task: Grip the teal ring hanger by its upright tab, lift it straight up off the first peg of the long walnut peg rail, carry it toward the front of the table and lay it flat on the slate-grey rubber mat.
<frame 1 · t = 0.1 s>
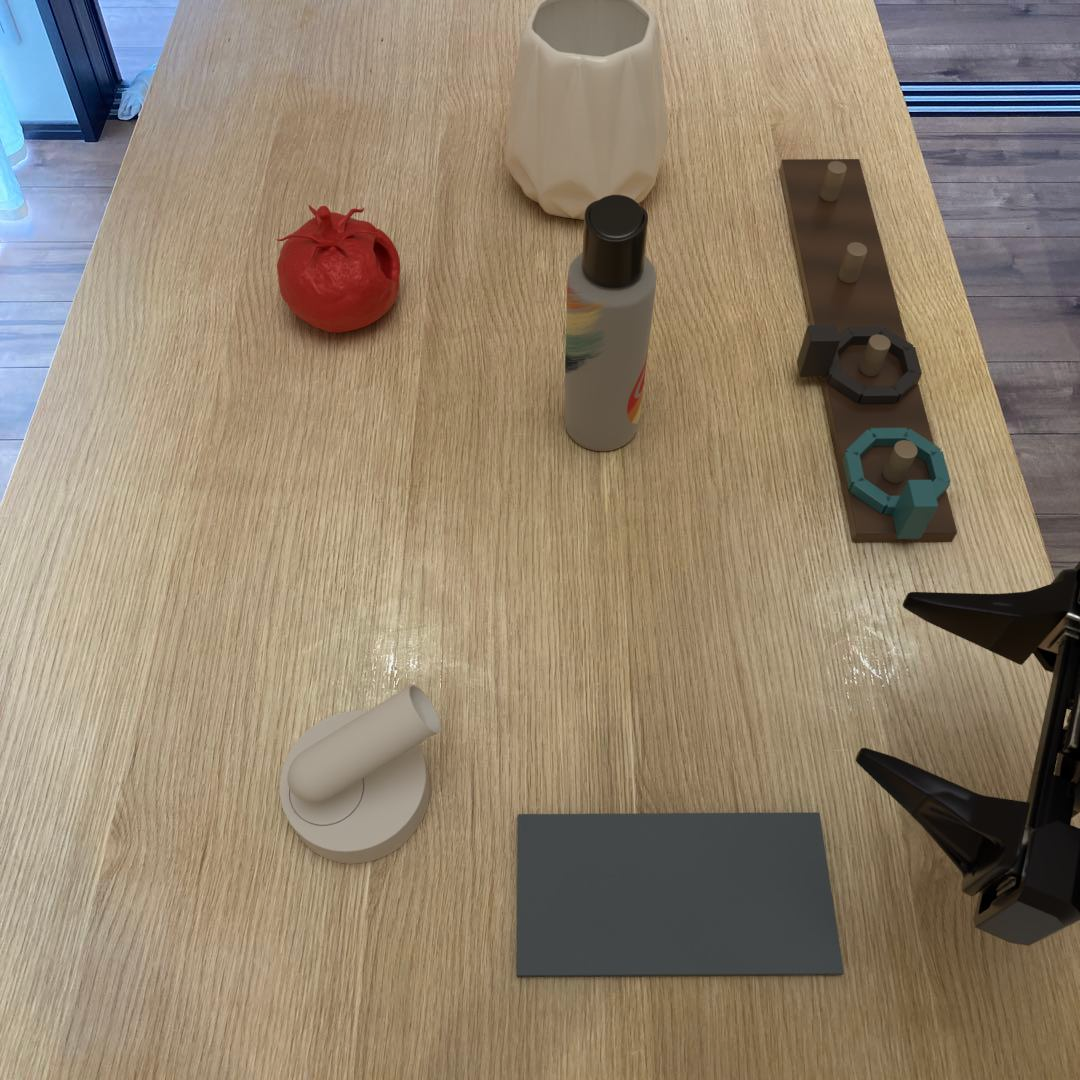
hand: (882, 673, 51), 15 cm above the table, tool horizontal, fingers open, 9 cm apart
peg rack: (854, 332, 83), on the table
ring teal: (893, 474, 74), point 1 cm above the table, touching peg rack
wall hook: (370, 788, 63), on the table
ring charcoal: (869, 369, 79), point 1 cm above the table, touching peg rack
mat: (673, 893, 60), on the table
pomegranate: (346, 305, 85), on the table
lotion bottle: (601, 425, 78), on the table
vase: (584, 184, 93), on the table
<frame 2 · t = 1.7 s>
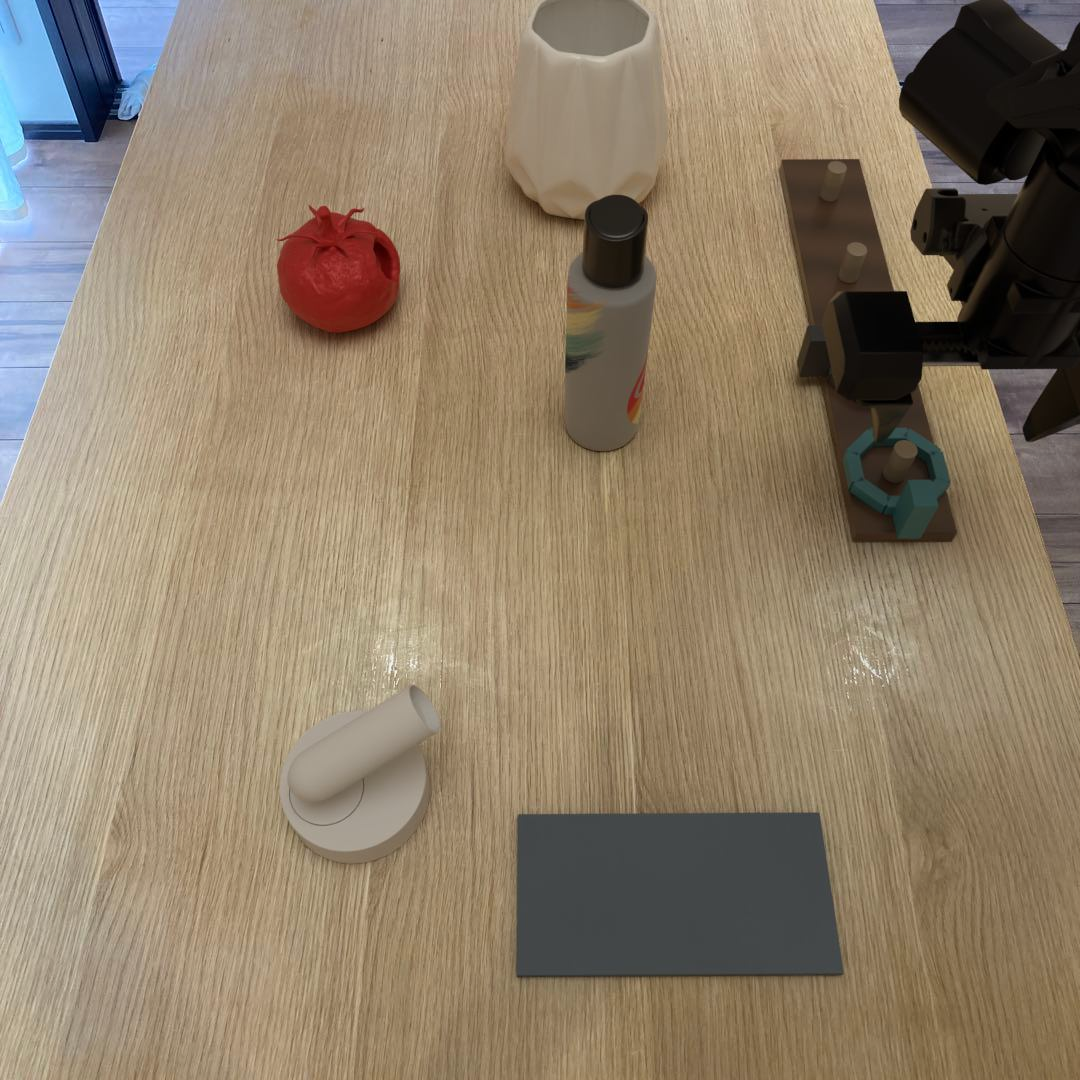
hand: (951, 436, 63), 11 cm above the table, tool pointing down, fingers open, 9 cm apart
nothing on the table moved.
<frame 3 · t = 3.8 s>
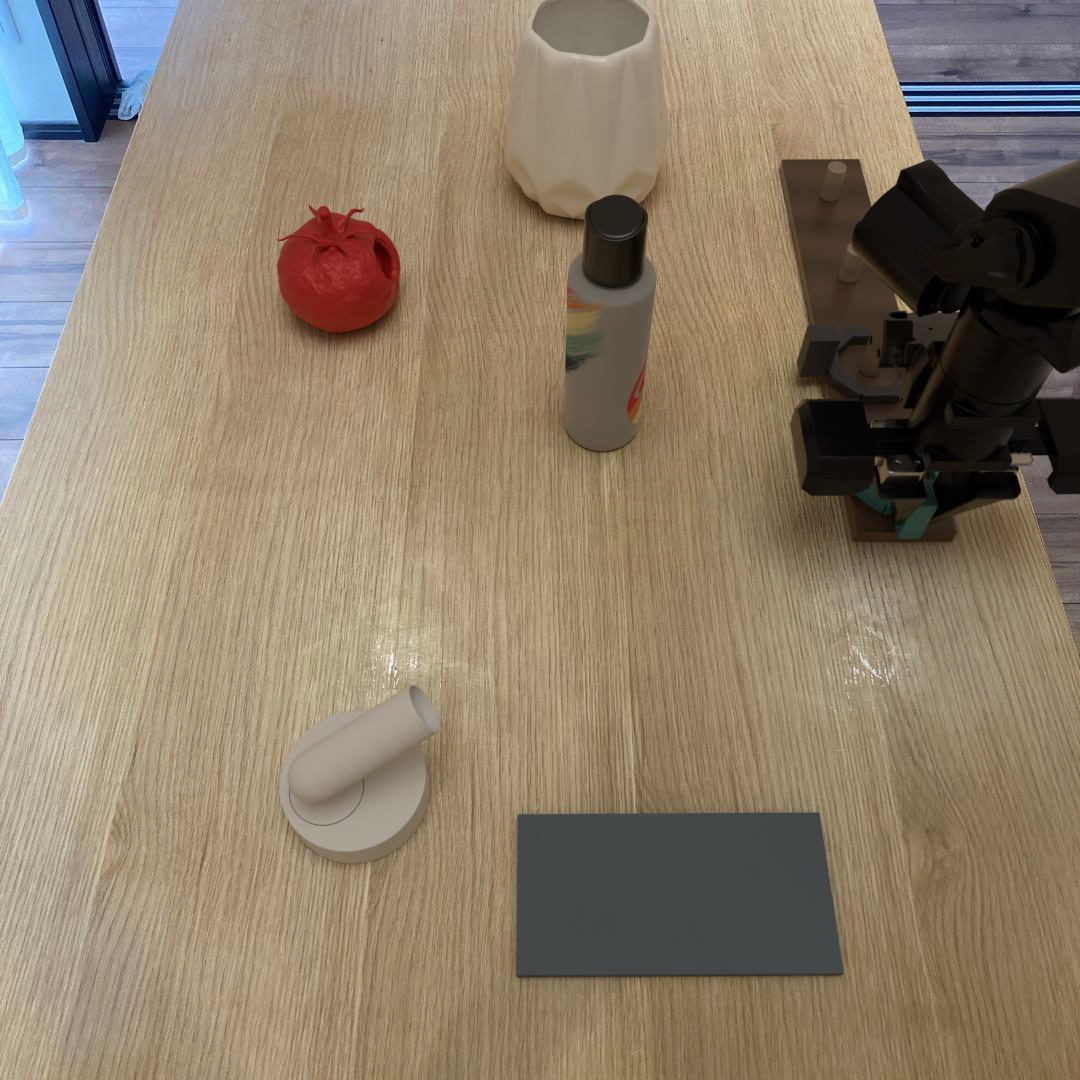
hand: (909, 519, 71), 2 cm above the table, tool pointing down, fingers closed on ring teal, 2 cm apart
ring teal: (893, 474, 74), point 1 cm above the table, touching gripper
everything else where it was.
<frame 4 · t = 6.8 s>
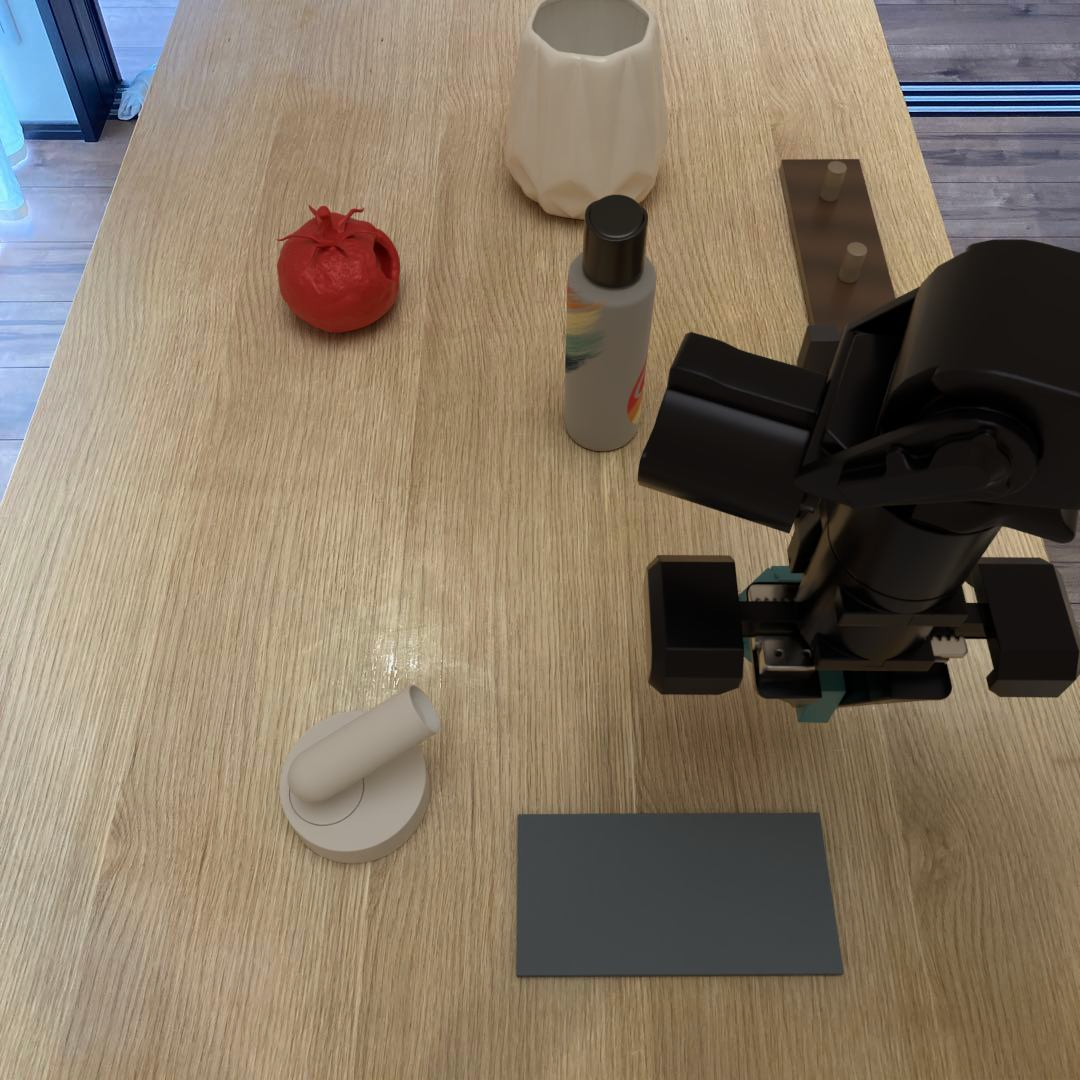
hand: (813, 698, 54), 12 cm above the table, tool pointing down, fingers closed on ring teal
ring teal: (799, 629, 57), point 11 cm above the table, touching gripper
everything else where it was.
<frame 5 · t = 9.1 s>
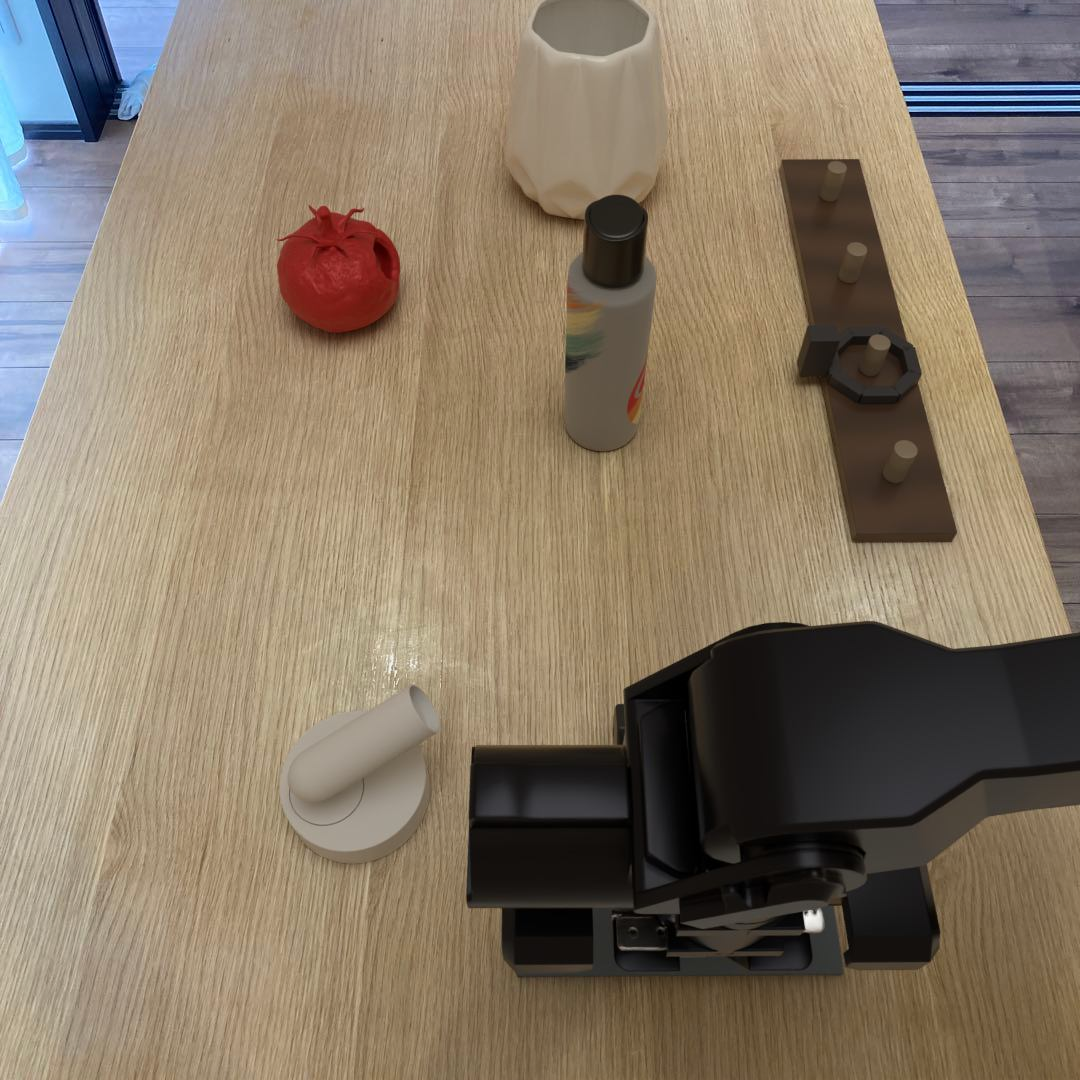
hand: (690, 933, 53), 6 cm above the table, tool pointing down, fingers closed on ring teal
ring teal: (682, 850, 56), point 5 cm above the table, touching gripper
everything else where it was.
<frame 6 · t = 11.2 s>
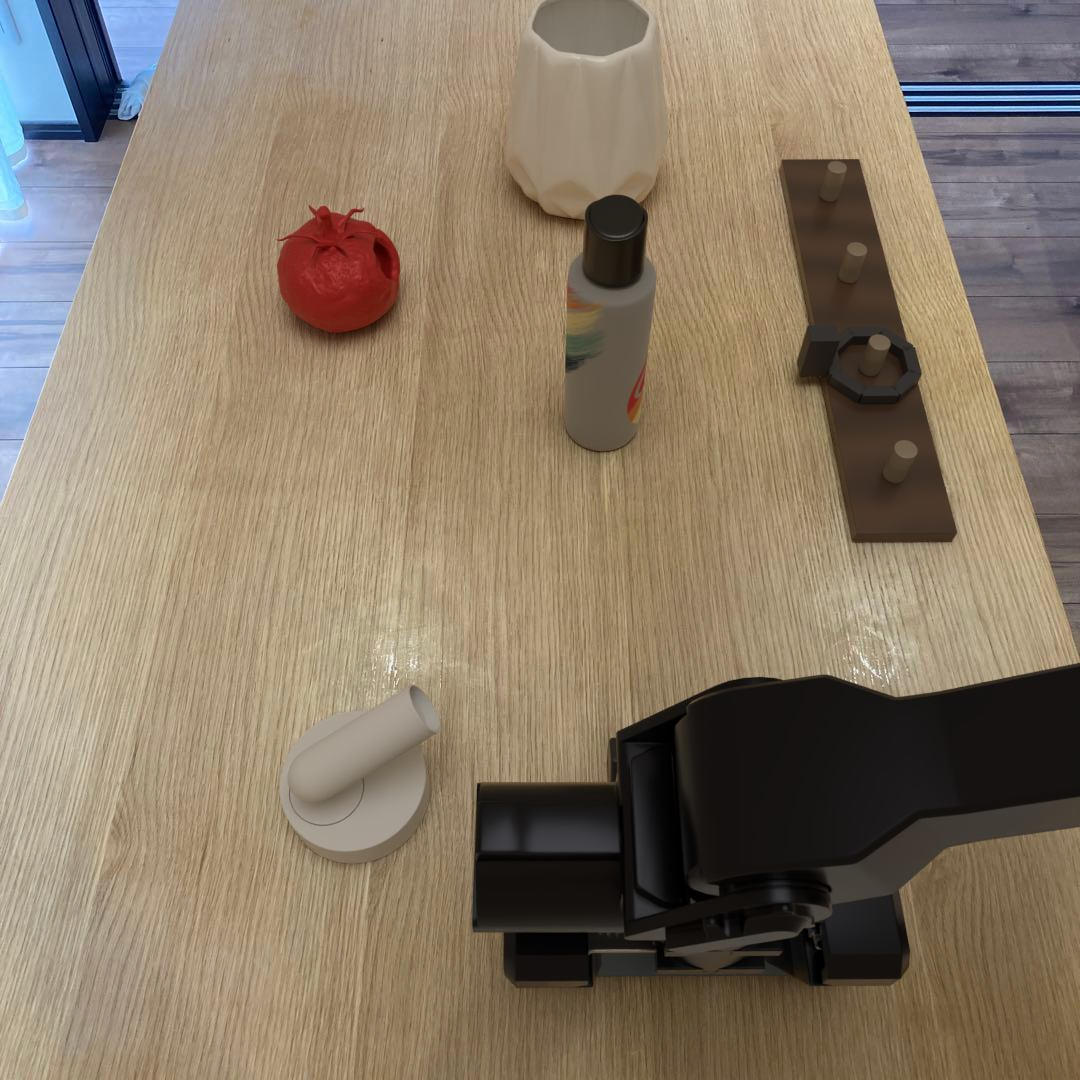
hand: (680, 949, 56), 2 cm above the table, tool pointing down, fingers open, 9 cm apart
ring teal: (673, 871, 60), point 1 cm above the table, touching mat
everything else where it was.
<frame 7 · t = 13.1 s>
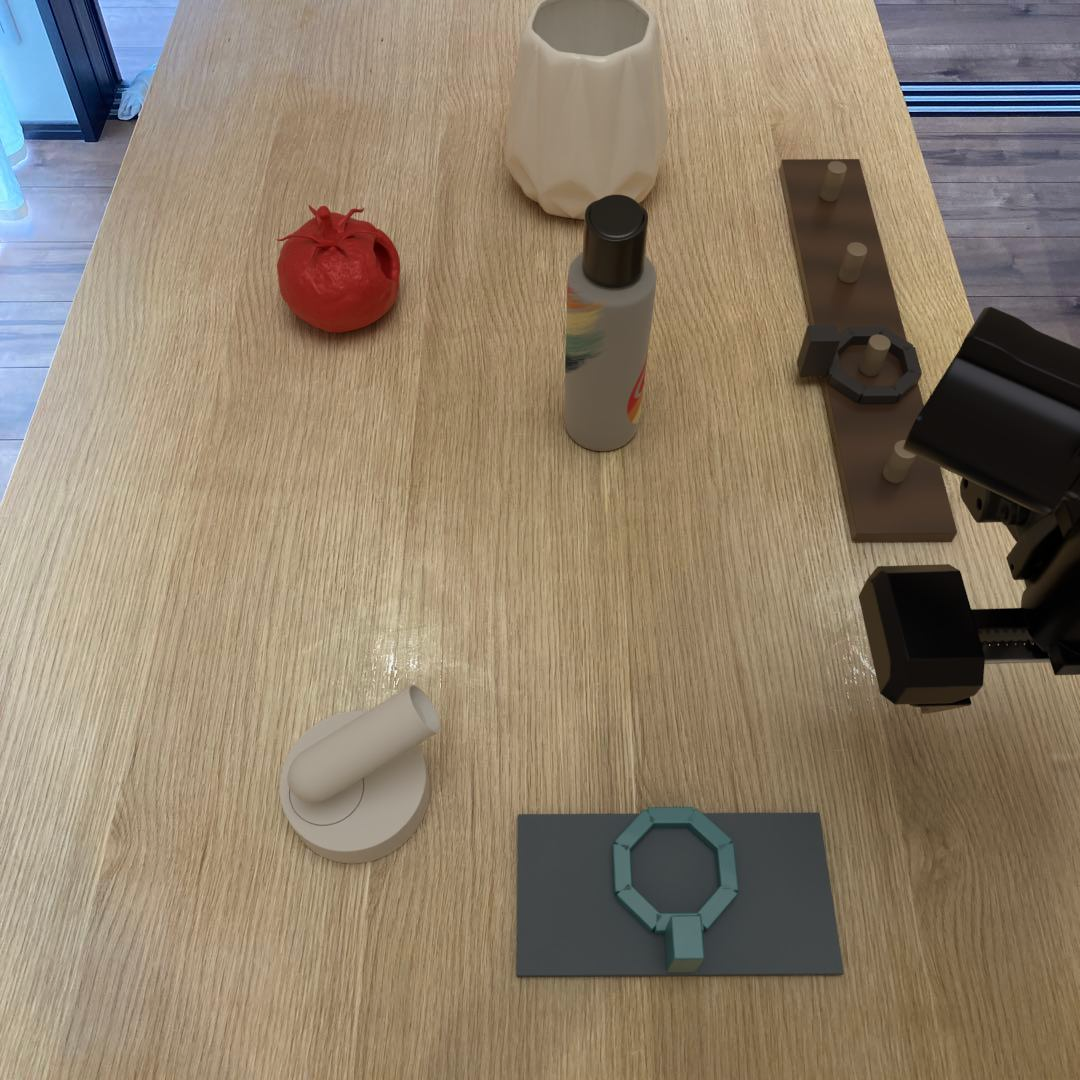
hand: (1010, 701, 54), 11 cm above the table, tool pointing down, fingers open, 9 cm apart
nothing on the table moved.
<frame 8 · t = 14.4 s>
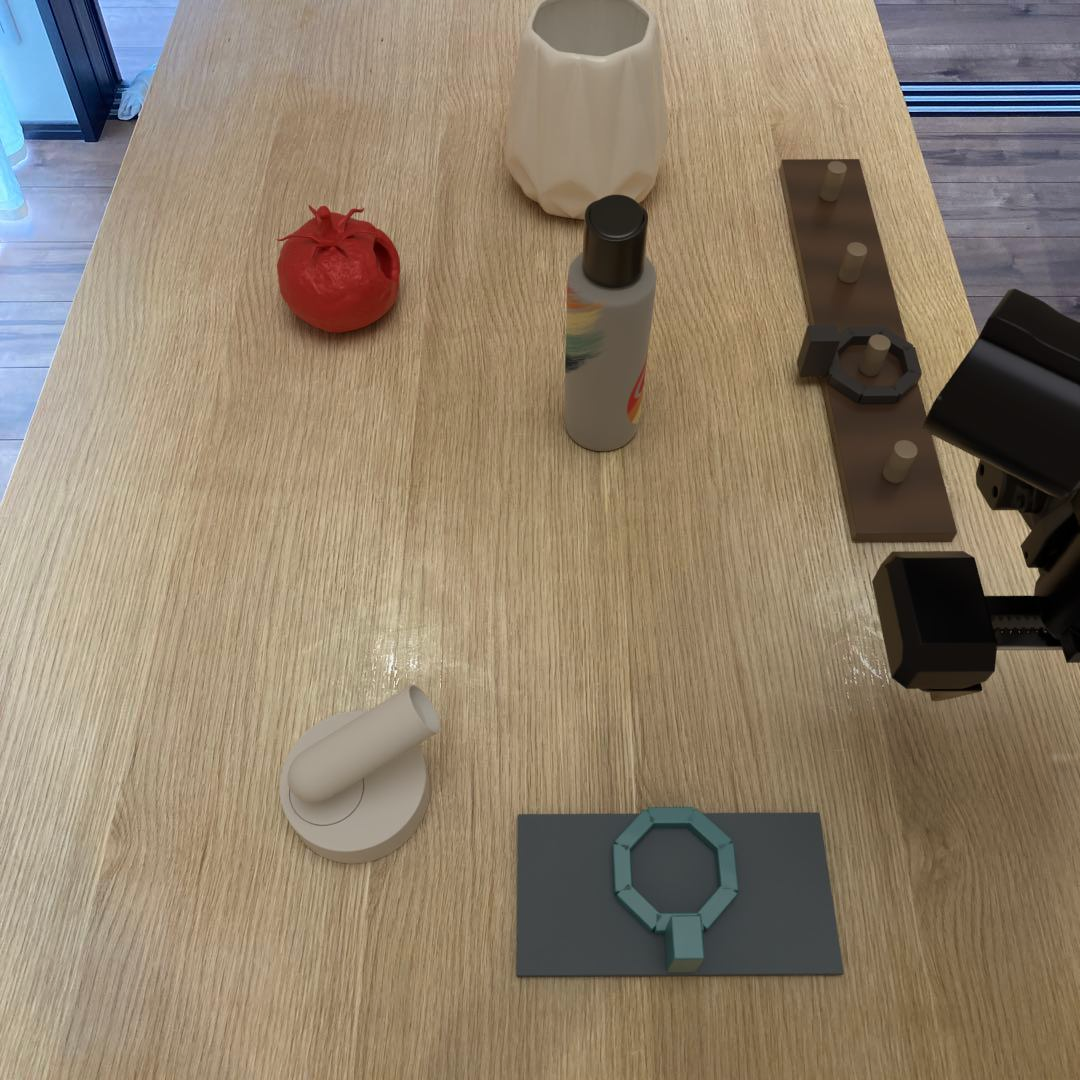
hand: (1020, 691, 54), 11 cm above the table, tool pointing down, fingers open, 9 cm apart
nothing on the table moved.
at the end: ring teal inside the target area on the mat (0.6 cm from its centre), point 0.6 cm above the mat's base; ring teal touching mat; ring teal tilted 0° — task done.
